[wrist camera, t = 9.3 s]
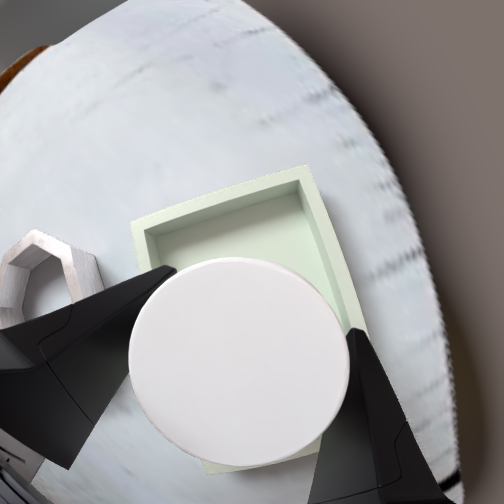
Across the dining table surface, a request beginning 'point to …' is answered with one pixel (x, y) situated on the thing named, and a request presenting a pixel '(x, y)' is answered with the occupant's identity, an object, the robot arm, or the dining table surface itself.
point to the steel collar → (32, 254)
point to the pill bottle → (239, 361)
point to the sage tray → (255, 243)
